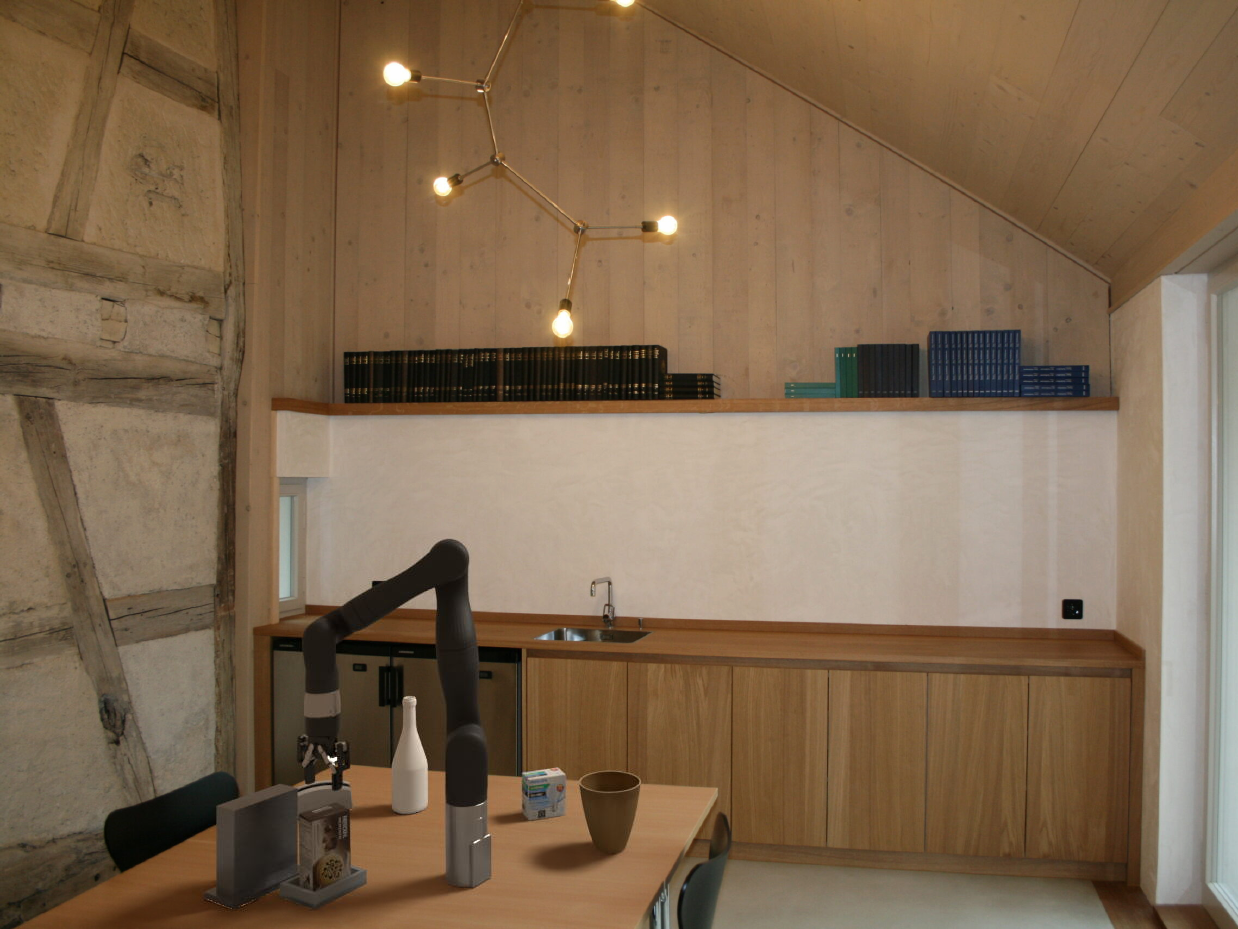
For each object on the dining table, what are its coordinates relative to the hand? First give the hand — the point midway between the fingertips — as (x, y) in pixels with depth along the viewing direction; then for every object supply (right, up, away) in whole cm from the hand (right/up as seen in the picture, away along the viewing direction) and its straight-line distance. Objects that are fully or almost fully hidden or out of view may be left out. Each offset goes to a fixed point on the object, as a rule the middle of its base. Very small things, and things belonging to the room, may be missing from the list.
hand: (323, 786), depth 190 cm
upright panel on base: (-15, -22, +1) cm, 27 cm away
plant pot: (+62, -22, +20) cm, 69 cm away
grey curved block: (-16, -24, +45) cm, 53 cm away
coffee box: (+1, -21, -1) cm, 21 cm away
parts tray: (0, -22, -1) cm, 22 cm away
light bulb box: (+44, -23, +43) cm, 66 cm away
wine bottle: (+7, -24, +48) cm, 54 cm away
